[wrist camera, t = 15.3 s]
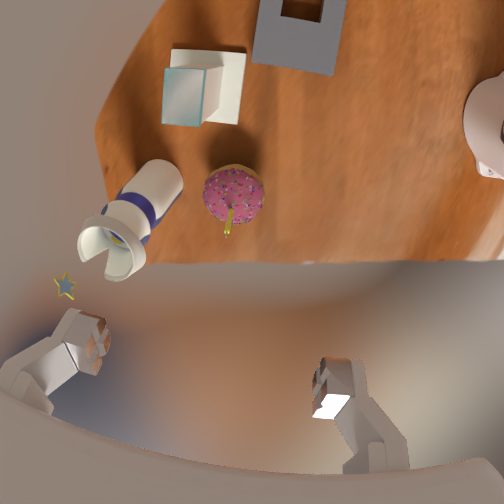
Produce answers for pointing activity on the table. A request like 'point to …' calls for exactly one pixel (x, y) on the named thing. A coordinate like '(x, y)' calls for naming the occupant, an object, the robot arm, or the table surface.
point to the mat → (230, 80)
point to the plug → (191, 93)
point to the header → (298, 37)
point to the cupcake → (233, 194)
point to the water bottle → (128, 222)
